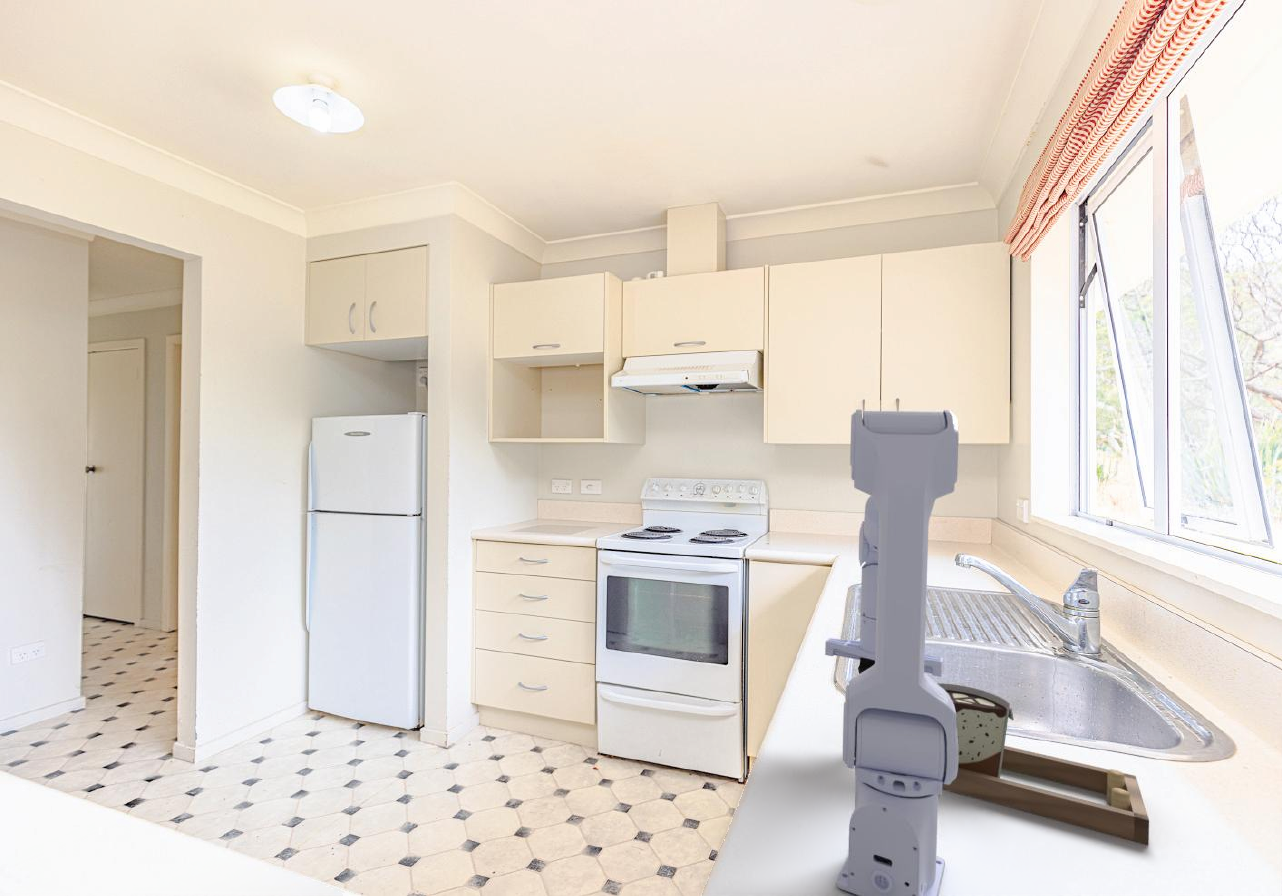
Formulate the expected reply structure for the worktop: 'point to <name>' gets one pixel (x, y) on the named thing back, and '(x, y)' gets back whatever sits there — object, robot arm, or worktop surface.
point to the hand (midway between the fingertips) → (880, 718)
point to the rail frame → (1120, 788)
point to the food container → (979, 728)
